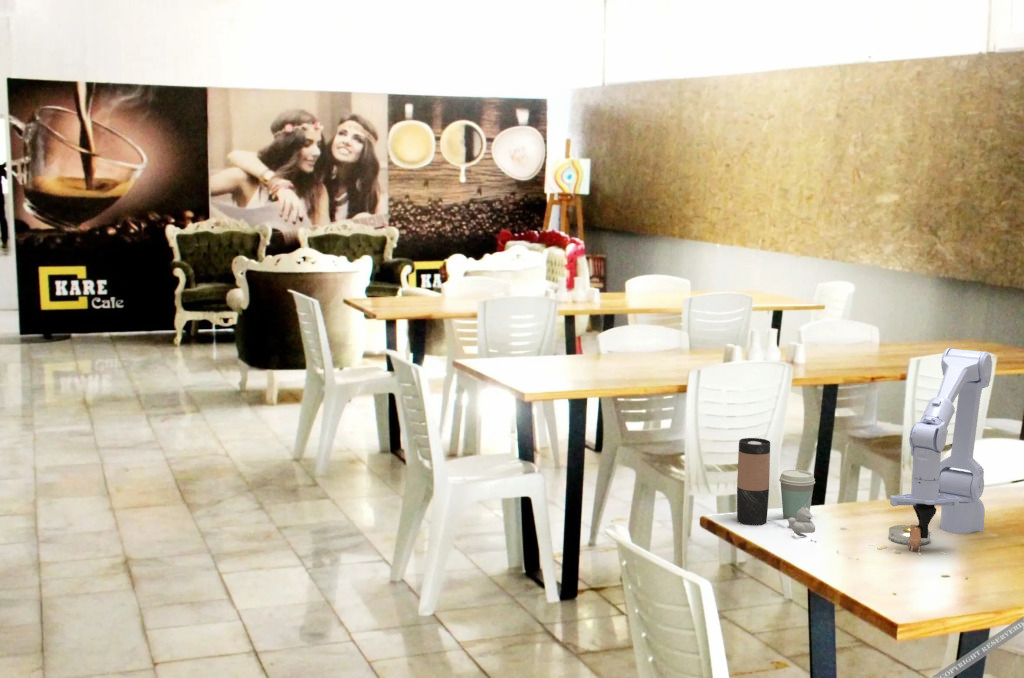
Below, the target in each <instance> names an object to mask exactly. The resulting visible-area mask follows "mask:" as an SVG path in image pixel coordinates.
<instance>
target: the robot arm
mask: <svg viewBox="0 0 1024 678" xmlns="http://www.w3.org/2000/svg"><path fill="white" fill-rule="evenodd" d="M940 363H941V370H942V371H941V372H942V376H943V377H942V381H941V384H940V387H939V390H938V392H937V394H936V395H937V396H935V397H932V398H931V399H930V400H929V402H928V404H927V406H925V407H926V408H925V410H924V412H923V414H922V416H921V418H920V420H919V422H917V423H916V424H913V425H912V426H911V429H910V431H909V432H910V433H909V439H908V440H909V445H910V454H911V455H910V456H912V469H911V470H912V472H911V475H912V476H911V492H910V493H905V494H897V495H896V494H894V495H892V494H891V495H890V496H889V497H890V498H889V501H890V502H889V504H890V505H891V507H897V506H912V508H913V511H914V512H915V514H916V517H917V521H918V525H920V526H922V531H921V538H928V530H929V525H930V523H931V521H932V519H934V516H935V515H936V512H937V508H936V506H937V507H941V509H940V525H939V526H940V528H939V529H941V530H942V531H943V532H947V533H951V534H956V535H958V534H959V535H966V534H971V533H974V532H981V533H984V531H985V530H984V529H985V516H986V515H985V513H986V511H985V506H984V502H983V501H982V500H981V497H982V495H983V493H984V488H985V479H984V478H985V477H984V474H985V473H984V472H985V470H984V468H983V466H982V465H981V464H979V463H978V461H977V460H975V459H974V450H975V444H976V443H975V442H976V435H977V427H978V419H979V413H980V412H979V409H980V404H981V396H982V391H983V389H985V388H988V387H989V386H990V382H991V376H992V369H993V361H992V356H991V354H990V353H989V352H988V351H978V350H966V349H958V348H957V349H956V348H951V347H947V348H946V349H945V350H944V352H943V354H942V356H941V362H940ZM956 399H957V403H956V404H957V405H956V407H955V406H954V402H955V400H956ZM955 408H956V410H955ZM955 411H956V412H955ZM954 413H955V419H954V428H953V435H952V436H953V437H952V444H951V451H950V456H948V457H946V458H944V459H943V460H942V459H941V458H942V457H941V454H942V451H943V450H944V449H945V446H946V442H947V436H948V432H949V430H948V426H949V424H950V423H951V419H952V417H953V416H954ZM957 469H960V470H957Z"/></svg>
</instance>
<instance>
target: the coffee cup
mask: <svg viewBox="0 0 1024 678" xmlns="http://www.w3.org/2000/svg"><path fill="white" fill-rule="evenodd" d="M815 480H816V478H815V477H814V473H813V472H811V471H808V470H802V469H785V470H782V471H781V474H780V476H779V480H778V481H779V482H780V493H781V494H780V495H781V504H782V507H781V508H782V517H783V520H788V519H789V518H791V517H793V518H796V519H797V516H796V514H797V512H798V510H799V509H801V508H802V507H804V505H805V504H806V507H807V508H808V509H809V511H811V505H812V497H813V491H814V485H815V484H816V481H815Z"/></svg>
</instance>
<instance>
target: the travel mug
mask: <svg viewBox="0 0 1024 678" xmlns="http://www.w3.org/2000/svg"><path fill="white" fill-rule="evenodd" d="M770 464H771V441H770V440H768V439H765V438H757V437H745V438H740V439H739V442H738V455H737V479H736V520H737V522H738V523H739V522H740V523H739V524H741V525H747V526H762V525H765V524H767V521H768V509H769V494H770V492H769V491H770V471H771V470H770V467H771V466H770Z"/></svg>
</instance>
